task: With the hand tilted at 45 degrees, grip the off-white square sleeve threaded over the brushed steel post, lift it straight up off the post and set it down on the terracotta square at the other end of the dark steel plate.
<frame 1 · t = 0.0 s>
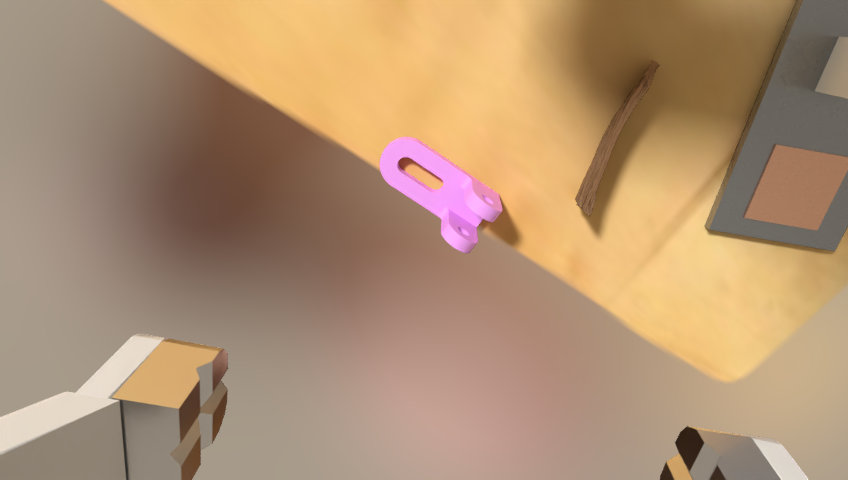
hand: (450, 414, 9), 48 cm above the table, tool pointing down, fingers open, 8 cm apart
post plate: (816, 129, 53), on the table
brown bark piece: (610, 133, 55), on the table
bracket: (435, 180, 58), on the table
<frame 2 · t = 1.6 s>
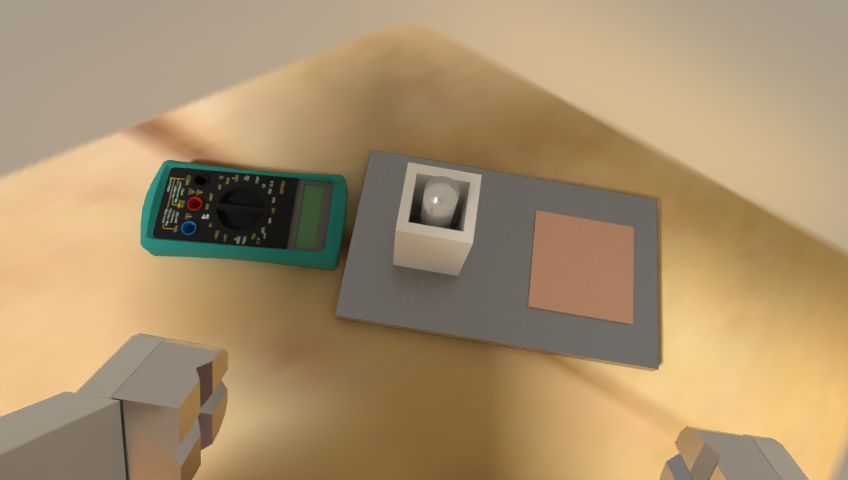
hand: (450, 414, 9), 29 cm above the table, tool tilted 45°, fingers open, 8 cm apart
sleeve: (430, 240, 41), point 1 cm above the table, touching post plate
post plate: (503, 257, 42), on the table
digital multimeter: (254, 222, 42), on the table
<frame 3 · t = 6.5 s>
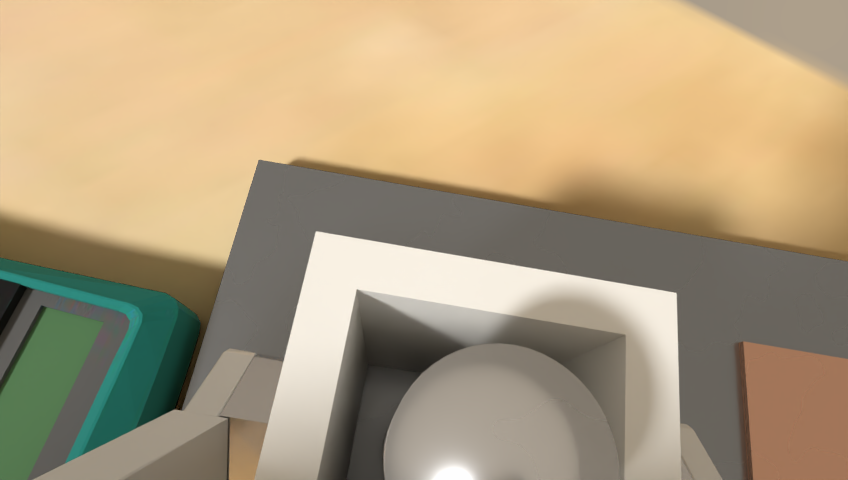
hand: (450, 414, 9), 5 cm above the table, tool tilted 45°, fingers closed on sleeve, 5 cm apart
sleeve: (427, 451, 13), point 1 cm above the table, touching gripper, post plate
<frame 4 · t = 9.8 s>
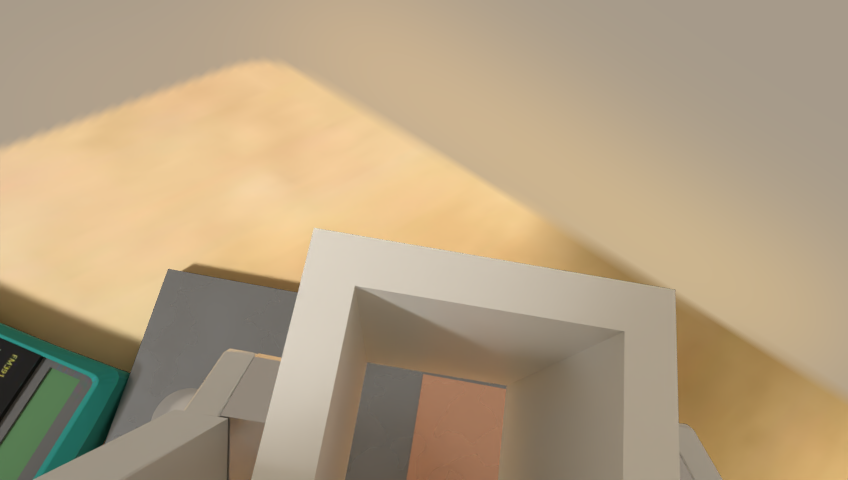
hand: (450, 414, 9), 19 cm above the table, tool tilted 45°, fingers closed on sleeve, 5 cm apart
sleeve: (426, 449, 13), point 15 cm above the table, touching gripper
post plate: (368, 451, 26), on the table
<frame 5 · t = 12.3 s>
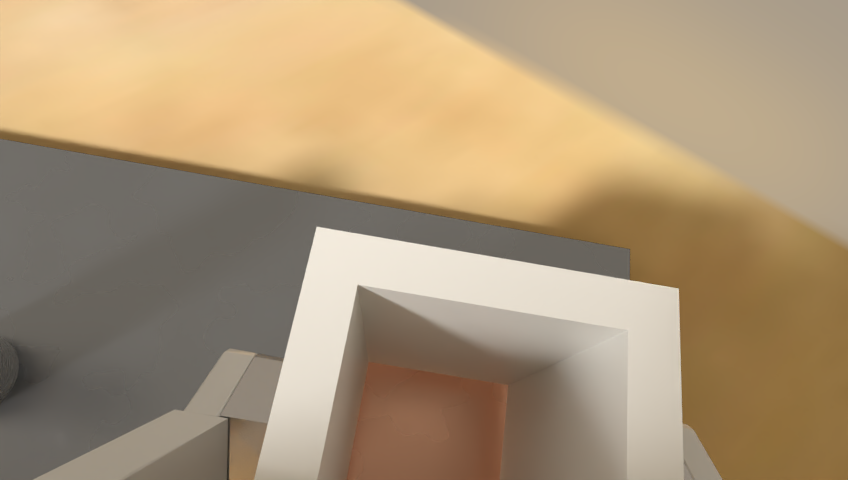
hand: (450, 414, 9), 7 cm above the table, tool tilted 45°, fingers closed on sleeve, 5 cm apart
sleeve: (428, 448, 13), point 3 cm above the table, touching gripper
post plate: (207, 413, 15), on the table
when the fingers open (6 cm above the table, at t = 12.9 s): sleeve stays where it is, resting on post plate.
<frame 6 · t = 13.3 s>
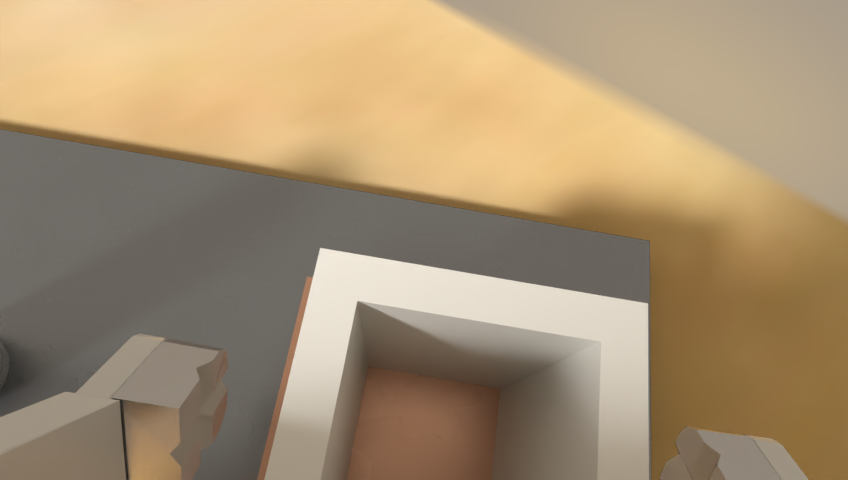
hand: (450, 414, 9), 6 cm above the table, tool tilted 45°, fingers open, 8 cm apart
sleeve: (424, 448, 14), point 1 cm above the table, touching post plate
post plate: (207, 414, 15), on the table
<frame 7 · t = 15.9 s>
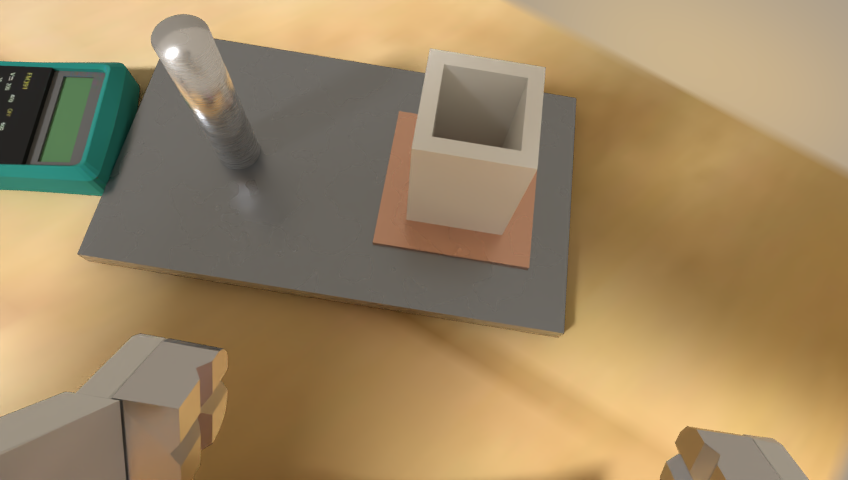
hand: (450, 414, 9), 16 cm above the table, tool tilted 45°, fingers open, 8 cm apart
sleeve: (460, 184, 28), point 1 cm above the table, touching post plate
post plate: (350, 177, 29), on the table
digital multimeter: (4, 140, 30), on the table
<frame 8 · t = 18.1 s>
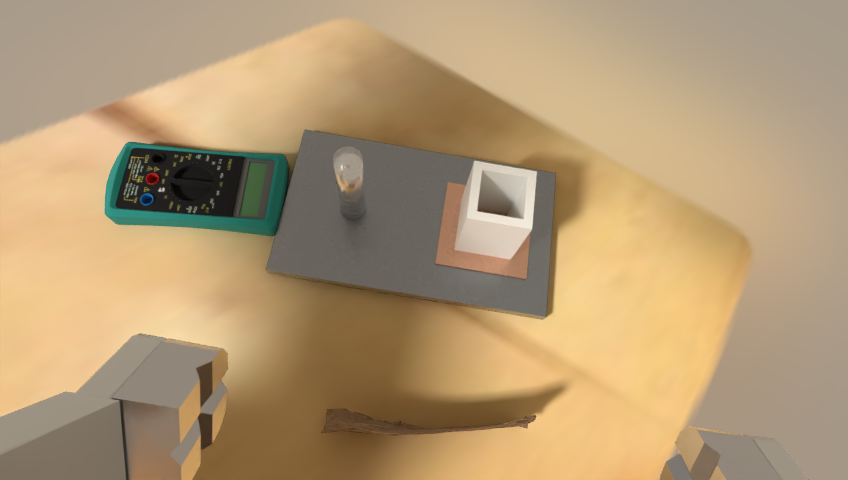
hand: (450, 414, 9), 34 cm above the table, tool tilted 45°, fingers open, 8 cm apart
sleeve: (485, 228, 47), point 1 cm above the table, touching post plate
post plate: (418, 222, 48), on the table
digital multimeter: (206, 196, 48), on the table
brown bark piece: (424, 421, 42), on the table
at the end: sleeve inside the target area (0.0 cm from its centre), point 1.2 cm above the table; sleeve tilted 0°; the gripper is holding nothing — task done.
